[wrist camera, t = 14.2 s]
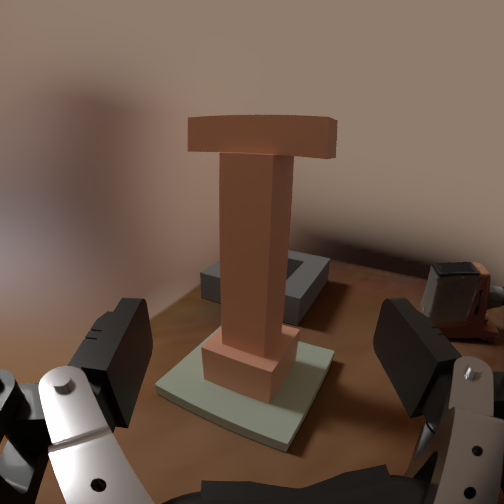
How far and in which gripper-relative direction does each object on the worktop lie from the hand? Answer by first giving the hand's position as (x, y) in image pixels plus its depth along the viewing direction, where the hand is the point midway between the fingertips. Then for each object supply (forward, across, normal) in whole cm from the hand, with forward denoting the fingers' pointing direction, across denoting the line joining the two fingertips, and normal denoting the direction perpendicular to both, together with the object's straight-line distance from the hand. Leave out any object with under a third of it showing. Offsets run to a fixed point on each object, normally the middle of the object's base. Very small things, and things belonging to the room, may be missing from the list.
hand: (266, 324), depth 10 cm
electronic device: (+13, -22, +11) cm, 28 cm away
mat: (+9, 0, +11) cm, 14 cm away
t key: (+9, 0, +10) cm, 13 cm away
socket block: (+23, -3, +11) cm, 26 cm away
